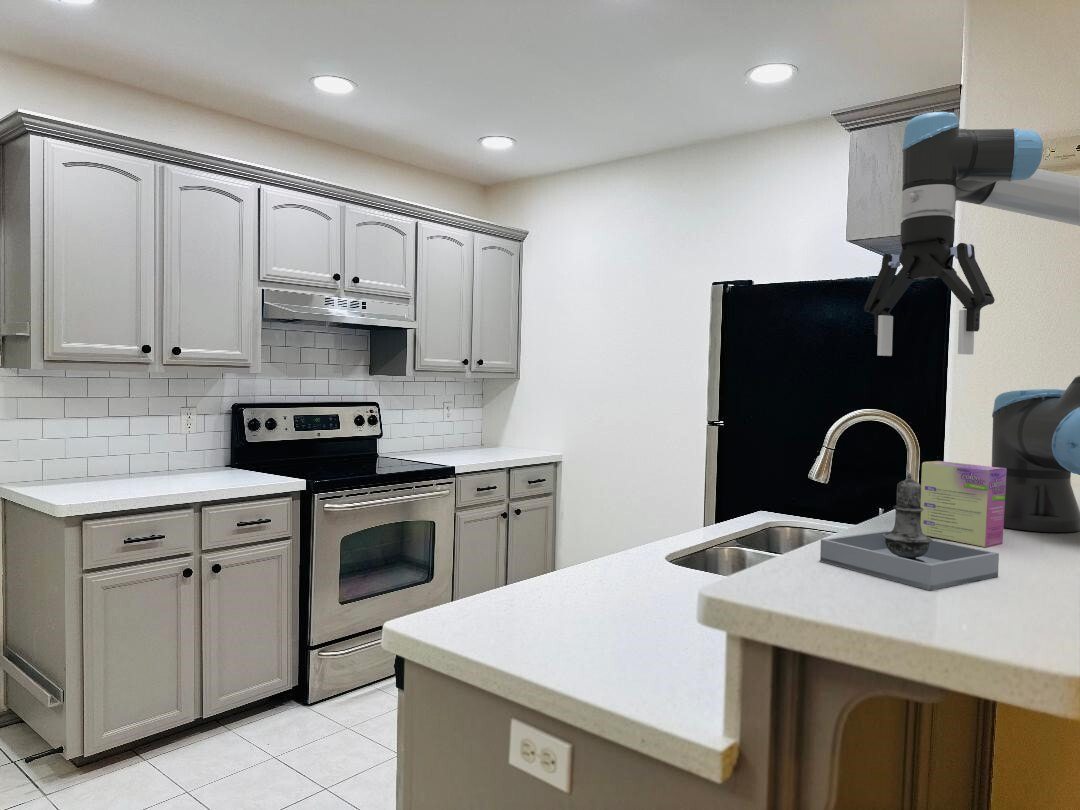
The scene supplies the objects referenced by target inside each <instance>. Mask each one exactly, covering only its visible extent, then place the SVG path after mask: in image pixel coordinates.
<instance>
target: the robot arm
mask: <svg viewBox="0 0 1080 810" xmlns="http://www.w3.org/2000/svg"><path fill="white" fill-rule="evenodd" d="M903 134H904V135H903V139H902V140H903V144H902V149H901V151H902V189H901V191H902V192H901V213H900V215H901V217H902V218H903V220H902V221H901V223H900V235H899V236H900V238H899V239H900V244H901V247H902V248H901V252H900V254H892V253H884V254H883V255H882V261H881V268H880V271H879V272H878V275H877V277H876V280H875V281H874V284H873V285H872V288H871V290H870V292H869V295H868V297H867V300H866V302H865V304H864V306H863V311H864V312H865V313H870V314H872V315H873V317H874V326H873V327H874V332H873V333H874V335H875V336H877V348H876V349H877V353H876V354H877V355H876V356H883V357H886V356H887V357H892V356H893V337H894V336H893V334H894V333H893V332H894V330H893V329H894V316H893V315H892V314H890V313H891V311H892V310H893V309H894V307H895V306H896V304H898V302H899V300H900V299H901V298H902V297H903V295H904V294H905V292H906V291H907V290H908V289H909V288H910V285H911V284H913V283H914V282H916V280H926V279H929V278H930V279H937V278H938V279H941V280H942V282H943V283H944V284H945V285H946V287H948V289H949V290H950V291H951V292H952V294H953V295H954V296H955V297H956V298H957V299H958V301H959V302H960V303H961V304H962V309H959V310H958V330H957V331H958V334H957V336H958V337H957V339H958V340H957V355H974V344H975V332H979V330H980V325H981V323H980V319H981V310H982V308H984V307H986V306H989V305H990V306H991V305H993V304H994V303H995V300H996V299H995V297H994V295H993V293H992V291H991V289H990V287H989V285H988V282H987V280H986V278H985V276H984V274H983V272H982V270H981V268H980V266H979V264H978V262H977V259H976V253H975V245H974V244H973V243H971V244H970V243H965V242H959V243H958V244H957V245H955V246H954V245H953V241H954V240H955V228H956V227H955V226H956V225H955V223H956V219H955V218H954V217H953V215H954V214H956V204H957V203H956V202H963V203H968V204H975V205H979V206H983V207H988V208H994V209H998V210H1002V211H1007V212H1012V213H1015V214H1016V213H1017V214H1021V215H1026V216H1031V217H1034V218H1035V217H1036V218H1039V219H1044V220H1045V219H1046V220H1049V221H1054V222H1060V223H1064V224H1069V225H1072V226H1077V227H1080V176H1074V175H1070V174H1064V173H1061V172H1056V171H1051V170H1045V169H1041V168H1039V167H1040V164H1041V162H1042V159H1043V153H1044V152H1043V151H1044V144H1043V139H1042V137H1041V135H1040V134H1039V133H1038V132H1036V131H1035V130H1032V129H1022V128H1021V129H1020V128H1016V127H1014V128H1009V129H1008V128H1007V129H1006V128H1005V129H1004V128H997V129H996V128H995V129H990V128H987V129H986V128H985V129H984V128H983V129H980V128H979V129H967V128H960V121H959V117H958V116H957V115H956V114H955V113H953V112H948V111H933V112H927V113H924V114H919V115H917V116H915V117H913V118H911V119H909V120H908V122H907V123H906V125H905V128H904V133H903ZM954 257H955V259H956V260H958V263H959V264H958V265H959V266H960V269H961V270H962V273H963V275H964V277H965V279H966V281H967V283H968V285H969V286H968V285H966V283H965V282H964V281H963V280H962V279H961V277H960V276H959V275H958V274H957V272H958V271H956V270H955V268H954V267H953V266H952V264H951V262H952V261H953V259H954ZM900 266H902V267H901V268H900V270H899V271H898V267H900ZM897 271H898V273H897ZM895 277H896V278H895ZM894 278H895V279H894ZM969 287H970V288H969ZM991 417H992V436H991V437H992V438H991V439H992V440H991V441H992V442H991V444H992V445H991V446H992V447H991V467H999V468H1006V469H1007V471H1006V492H1005V511H1004V529H1005V528H1007V529H1012V530H1020V531H1022V530H1023V531H1030V532H1041V533H1042V532H1043V533H1070V532H1071V533H1072V532H1073V533H1074V532H1078V531H1080V508H1079V504H1078V502H1077V500H1076V496H1075V493H1074V489H1073V487H1072V483H1071V482H1072V481H1071V476H1072V474H1075V475H1079V476H1080V374H1078V375H1076V376H1075V377H1074V378H1073V380H1072V381H1071V383H1070V384H1069V385H1068V386H1067V388H1066V389H1058V388H1057V389H1055V388H1045V389H1044V388H1043V389H1042V388H1040V389H1037V388H1036V389H1025V390H1024V389H1023V390H1021V389H1020V390H1011V391H1010V390H1009V391H1005V392H1002V393H1000V394H998V395H996V397H995V399H994V403H993V410H992V414H991Z"/></svg>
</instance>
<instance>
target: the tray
mask: <svg viewBox="0 0 1080 810" xmlns="http://www.w3.org/2000/svg"><path fill="white" fill-rule="evenodd" d="M891 531H892V530H882V531H881V530H880V531H874V532H873V531H872V532H867V533H858V534H851V535H845V536H844V535H843V536H836V537H831V538H822V539H820V552H819V553H820V555H819V556H820V558H819V559H820V560H819V562H821V563H826V564H828V565H832V566H836V567H840V568H843V569H847V570H852V571H855V572H859V573H863V574H866V575H869V576H874V577H877V578H881V579H885V580H889V581H892V582H895V583H896V582H897V583H900V584H903V585H907V586H911V587H915V588H919V589H922V590H925V591H936V590H940V589H945V588H946V589H947V588H950V587H955V586H959V584H960V585H964V584H963V583H965V584H967V583H966V582H970V583H973V582H972V581H975V582H978V581H977V580H980V581H983V580H982V579H984V580H987V579H988V578H989V579H992V577H994V578H998V577H999V564H1000V563H999V560H1000V559H999V556H1000V553H999V552H995V551H990V550H985V549H981V548H975V547H970V546H965V545H961V544H960V545H959V544H956V543H950V542H946V541H941V540H937V539H932V542H930V544H929V548H928V551H927V552H926V553H925V554H924V555H923V556H921V557H916V559H920V560H923V561H925V563H924V562H919V561H915V560H911V559H907V558H902V557H898V556H897V555H895V554H893V553H891V552H890V551H889V549H888V548H887V546H886V543H885V538H884V537H883V534H885V533H889V532H891ZM989 579H988V580H989Z"/></svg>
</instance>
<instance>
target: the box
mask: <svg viewBox="0 0 1080 810" xmlns="http://www.w3.org/2000/svg"><path fill="white" fill-rule="evenodd" d="M1006 471H1007V469H1006V468H999V467H992V466H990V465H989V466H988V465H987V466H986V465H980V464H971V463H969V464H968V463H959V462H951V461H944V460H943V461H942V460H933V461H932V460H931V461H923V462H922V463H921V479H920V481H921V482H920V486H921V507H922V508H923V509H924V510H923V511H922V512H921V529H922V533H923V534H924V535H925V536H927V537H930V538H931V537H933V538H938V539H943V540H948V541H952V542H957V543H962V544H967V545H970V546H971V545H972V546H976V547H980V548H989V547H995V546H998V545H1002V544H1003V543H1004V529H1005V527H1004V511H1005V492H1006Z"/></svg>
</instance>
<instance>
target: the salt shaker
mask: <svg viewBox="0 0 1080 810" xmlns="http://www.w3.org/2000/svg"><path fill="white" fill-rule="evenodd" d="M912 477H913V475H912V474H911V473H910V472H909V473H907V475H906V478H905V479H904V480H901V481H899V483H897V485H896V505H894V506H893V507H892V508H893V509H894V510H895V513H894V514H895V519H894V526H893V529H892V530H890V531H891V532H889V533H885V534H883V537H884V538H885V543H886V546H887V548H888V549H889V551H890V552H891V553H893V554H895V555H897V556H898V557H902V558H907V559H911V560H915V561H919V562H924V563H925V561H923V560H920V559H916V557H921V556H923V555H924V554H925V553H926V552H927V551H928V548H929V544H930V542H932V540H933V539H932V538H931V536H926V535H924V534H923V533H922V529H921V512H922V511H923V510H924V509H923V508H922V507H921V483H919V482H918V481H915V480H913V479H912Z"/></svg>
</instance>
